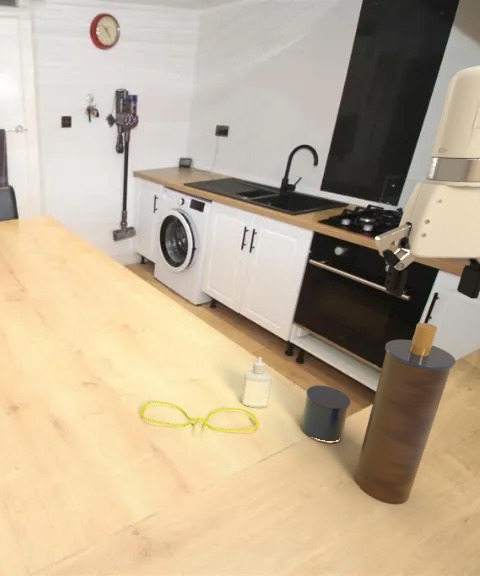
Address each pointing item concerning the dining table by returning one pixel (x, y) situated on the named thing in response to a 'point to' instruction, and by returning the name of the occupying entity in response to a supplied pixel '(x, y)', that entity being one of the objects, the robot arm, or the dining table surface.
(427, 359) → the lid
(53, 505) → the dining table surface
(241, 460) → the dining table surface
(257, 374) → the eye dropper bottle
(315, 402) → the canister
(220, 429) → the glasses
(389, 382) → the brown wooden cylinder
